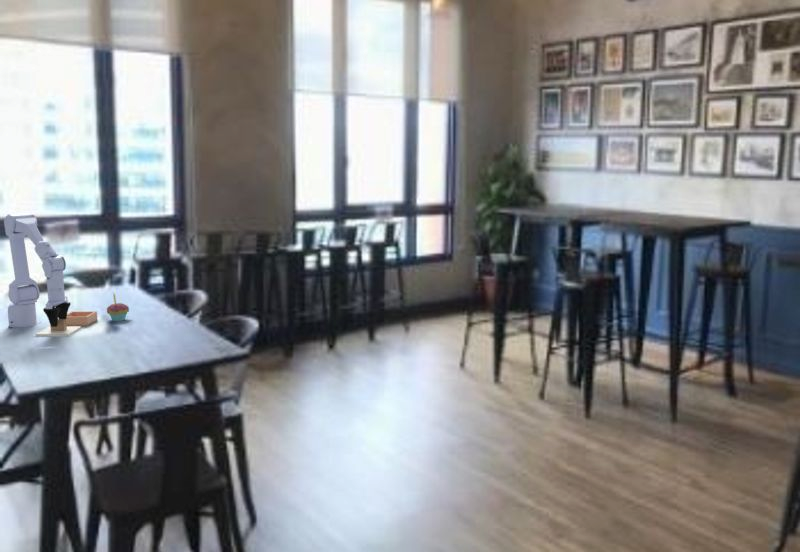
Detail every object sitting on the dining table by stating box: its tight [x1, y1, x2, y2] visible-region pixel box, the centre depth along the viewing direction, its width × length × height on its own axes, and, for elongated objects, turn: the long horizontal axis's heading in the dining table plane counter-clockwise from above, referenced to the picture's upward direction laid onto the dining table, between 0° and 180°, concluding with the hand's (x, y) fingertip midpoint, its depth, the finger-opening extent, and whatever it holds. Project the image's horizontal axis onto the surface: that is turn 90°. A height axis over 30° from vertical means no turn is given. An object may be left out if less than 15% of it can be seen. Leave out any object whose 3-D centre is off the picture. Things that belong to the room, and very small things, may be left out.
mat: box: [31, 327, 85, 338], centre depth 283 cm, size 14×14×1 cm
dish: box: [66, 310, 98, 327], centre depth 298 cm, size 10×10×4 cm
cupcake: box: [106, 293, 130, 322], centre depth 303 cm, size 9×8×12 cm
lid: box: [35, 318, 82, 336], centre depth 283 cm, size 12×12×5 cm
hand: (58, 324), depth 283 cm, fingers open, 7 cm apart
